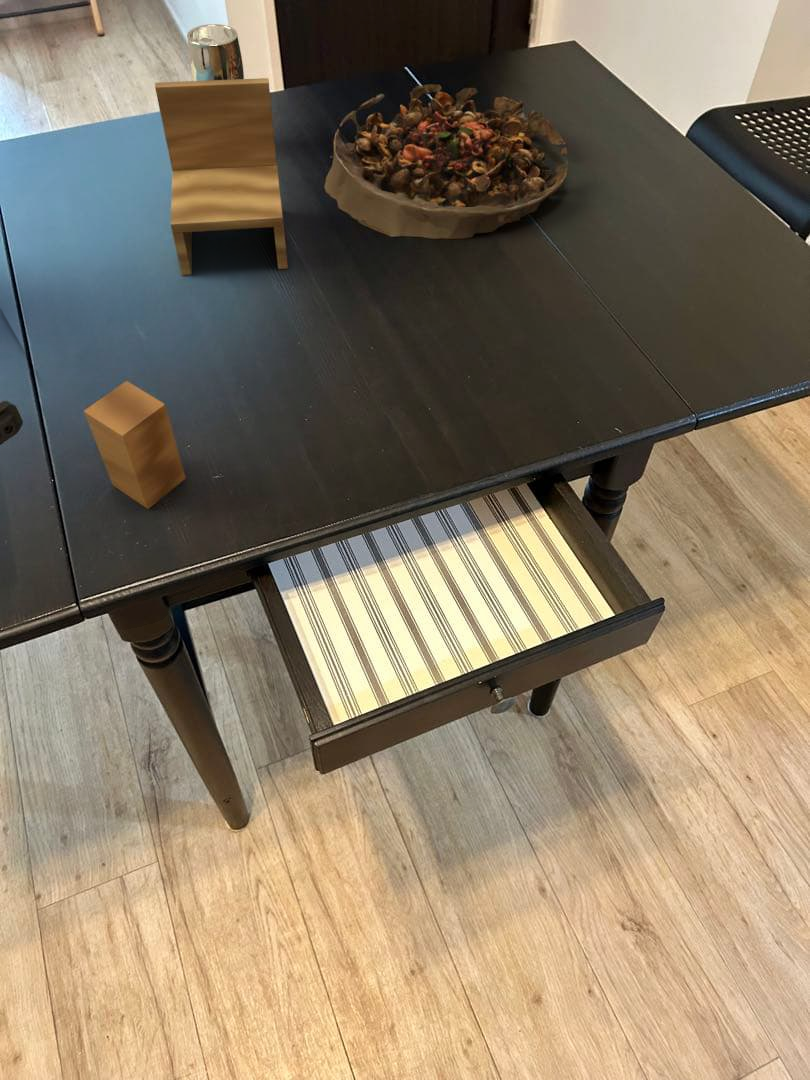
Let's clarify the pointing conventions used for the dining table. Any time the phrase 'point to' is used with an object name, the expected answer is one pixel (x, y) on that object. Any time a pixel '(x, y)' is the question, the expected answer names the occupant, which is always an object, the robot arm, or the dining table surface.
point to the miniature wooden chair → (221, 160)
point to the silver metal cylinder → (215, 53)
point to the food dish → (443, 167)
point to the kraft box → (136, 443)
